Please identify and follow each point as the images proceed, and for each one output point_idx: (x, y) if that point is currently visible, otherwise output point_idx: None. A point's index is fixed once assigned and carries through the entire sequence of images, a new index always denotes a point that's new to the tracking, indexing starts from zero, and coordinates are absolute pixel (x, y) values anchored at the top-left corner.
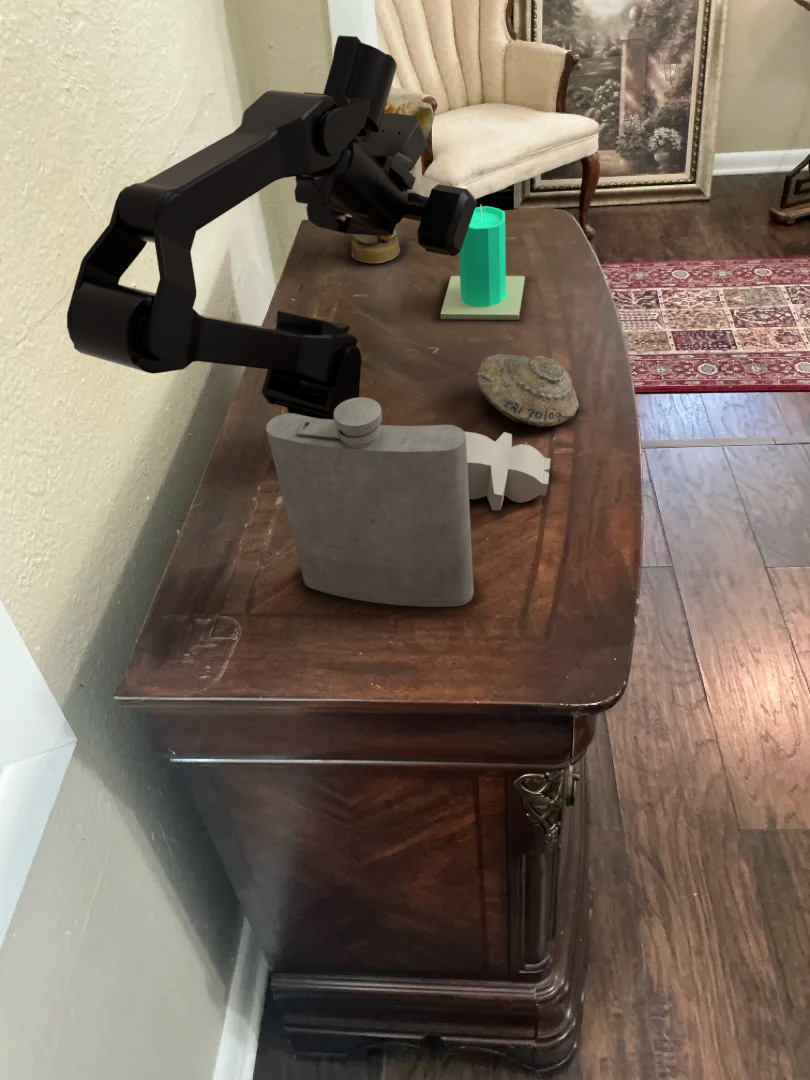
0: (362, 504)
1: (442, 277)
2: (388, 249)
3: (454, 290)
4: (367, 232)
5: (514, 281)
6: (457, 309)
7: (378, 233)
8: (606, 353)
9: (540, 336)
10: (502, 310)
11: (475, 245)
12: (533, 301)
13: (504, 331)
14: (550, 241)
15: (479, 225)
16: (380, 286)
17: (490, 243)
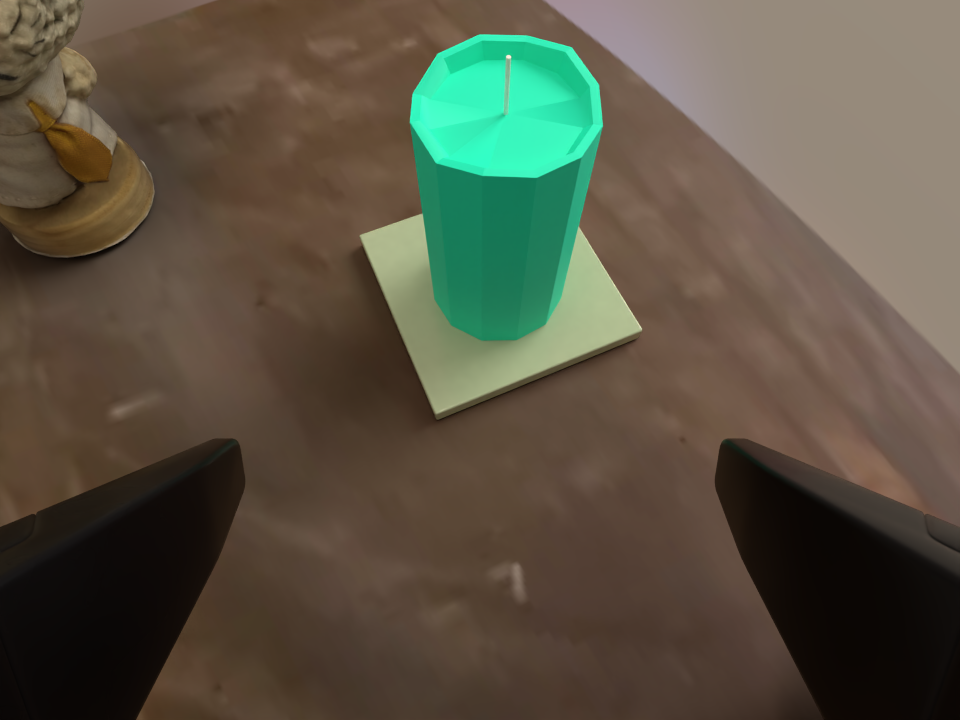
0: None
1: (328, 237)
2: (124, 199)
3: (408, 293)
4: (133, 705)
5: None
6: (470, 375)
7: (199, 579)
8: (933, 383)
9: (737, 382)
10: (590, 329)
11: (530, 223)
12: (616, 248)
13: (637, 400)
14: (499, 28)
15: (521, 142)
16: (173, 339)
17: (575, 195)
